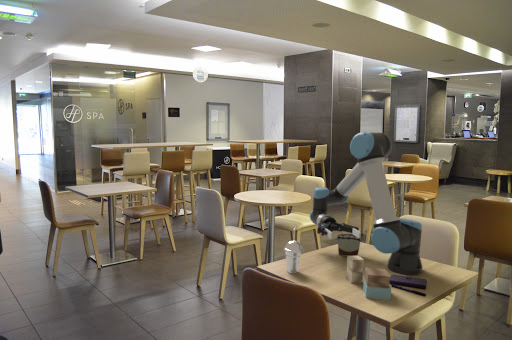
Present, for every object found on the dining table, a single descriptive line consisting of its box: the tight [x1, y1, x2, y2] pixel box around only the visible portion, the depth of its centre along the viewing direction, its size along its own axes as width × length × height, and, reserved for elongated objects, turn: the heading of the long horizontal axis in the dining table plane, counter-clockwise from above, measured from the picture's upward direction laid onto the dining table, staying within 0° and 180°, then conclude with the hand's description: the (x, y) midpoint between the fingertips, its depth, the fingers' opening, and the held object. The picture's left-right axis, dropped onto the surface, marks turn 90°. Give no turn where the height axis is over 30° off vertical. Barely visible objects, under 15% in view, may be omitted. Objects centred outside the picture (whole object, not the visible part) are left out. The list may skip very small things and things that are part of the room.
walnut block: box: [364, 267, 391, 288], centre depth 155 cm, size 8×8×4 cm
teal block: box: [362, 277, 392, 301], centre depth 155 cm, size 9×9×4 cm
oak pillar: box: [345, 255, 365, 284], centre depth 167 cm, size 5×5×10 cm
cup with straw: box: [283, 223, 304, 274], centre depth 175 cm, size 8×9×20 cm
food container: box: [336, 233, 362, 257], centre depth 203 cm, size 12×6×10 cm, turn 77°
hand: (345, 235), depth 176 cm, fingers open, 13 cm apart
